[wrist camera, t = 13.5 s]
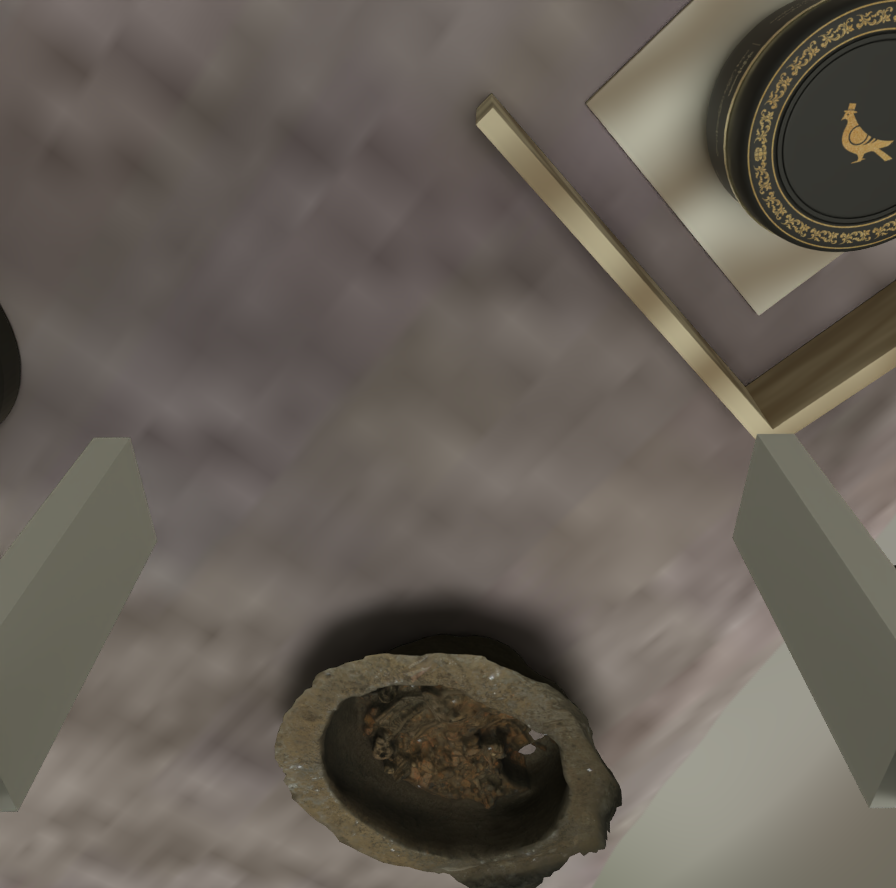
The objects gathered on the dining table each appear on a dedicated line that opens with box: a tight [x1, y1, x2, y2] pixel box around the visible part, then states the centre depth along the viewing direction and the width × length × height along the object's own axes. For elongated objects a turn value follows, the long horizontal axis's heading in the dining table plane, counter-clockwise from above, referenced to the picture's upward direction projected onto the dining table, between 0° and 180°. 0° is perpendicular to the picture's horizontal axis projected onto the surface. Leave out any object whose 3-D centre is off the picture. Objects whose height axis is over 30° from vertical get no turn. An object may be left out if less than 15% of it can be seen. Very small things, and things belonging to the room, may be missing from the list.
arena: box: [476, 0, 896, 439], centre depth 36 cm, size 23×20×5 cm
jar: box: [706, 0, 896, 252], centre depth 34 cm, size 10×10×8 cm
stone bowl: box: [275, 634, 622, 888], centre depth 57 cm, size 25×25×9 cm
